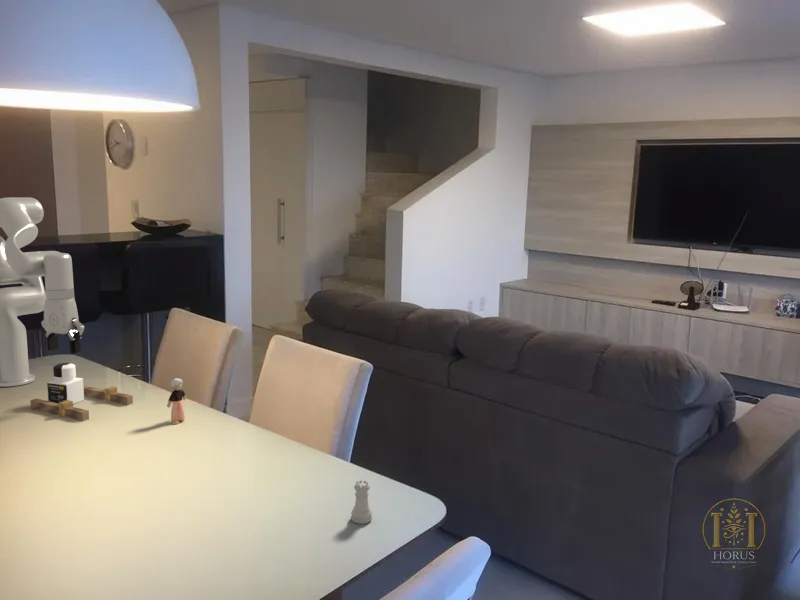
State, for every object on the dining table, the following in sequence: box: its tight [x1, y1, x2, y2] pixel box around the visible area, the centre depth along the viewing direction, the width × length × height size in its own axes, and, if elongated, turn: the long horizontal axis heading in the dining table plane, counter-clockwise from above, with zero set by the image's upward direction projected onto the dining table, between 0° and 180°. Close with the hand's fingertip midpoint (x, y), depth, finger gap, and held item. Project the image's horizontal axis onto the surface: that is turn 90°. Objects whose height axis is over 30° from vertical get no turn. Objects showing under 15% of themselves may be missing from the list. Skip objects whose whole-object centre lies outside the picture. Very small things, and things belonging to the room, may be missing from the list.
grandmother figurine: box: [166, 377, 187, 425], centre depth 195 cm, size 8×4×13 cm, turn 171°
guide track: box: [30, 384, 134, 422], centre depth 207 cm, size 22×19×4 cm
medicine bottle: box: [46, 362, 85, 405], centre depth 209 cm, size 7×7×12 cm
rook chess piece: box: [350, 479, 373, 525], centre depth 141 cm, size 4×4×8 cm
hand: (64, 351), depth 207 cm, fingers open, 9 cm apart
